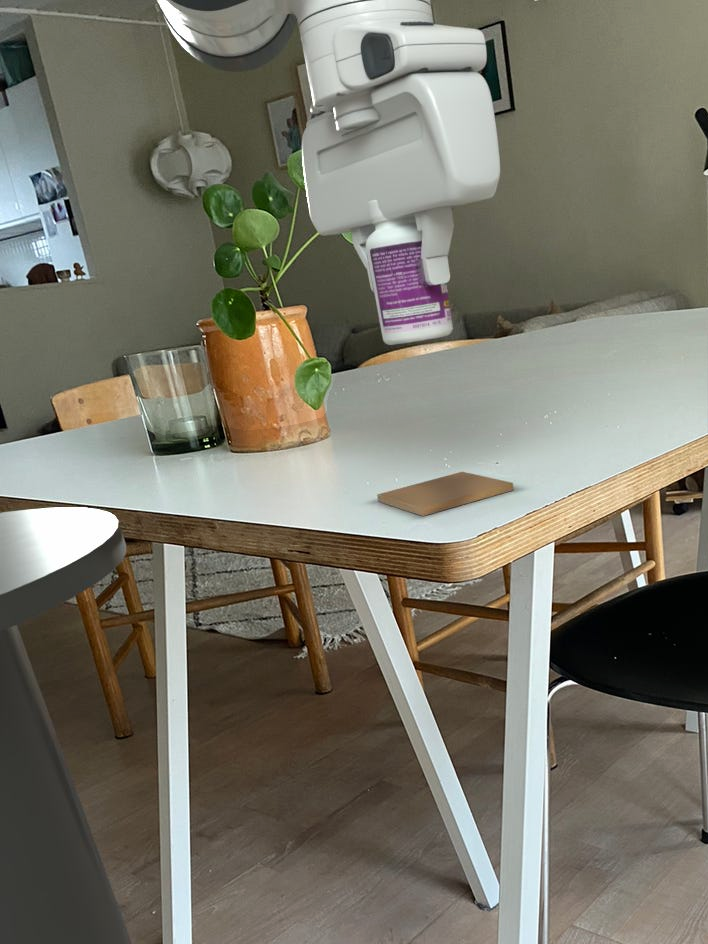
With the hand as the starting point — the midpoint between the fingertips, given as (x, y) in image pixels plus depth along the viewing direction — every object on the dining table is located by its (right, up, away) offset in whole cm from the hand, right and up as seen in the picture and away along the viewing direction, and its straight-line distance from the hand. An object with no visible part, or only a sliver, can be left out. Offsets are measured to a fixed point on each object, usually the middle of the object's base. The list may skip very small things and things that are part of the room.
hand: (410, 288), depth 67 cm
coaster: (+2, -14, +6) cm, 16 cm away
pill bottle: (+1, -3, +1) cm, 4 cm away
